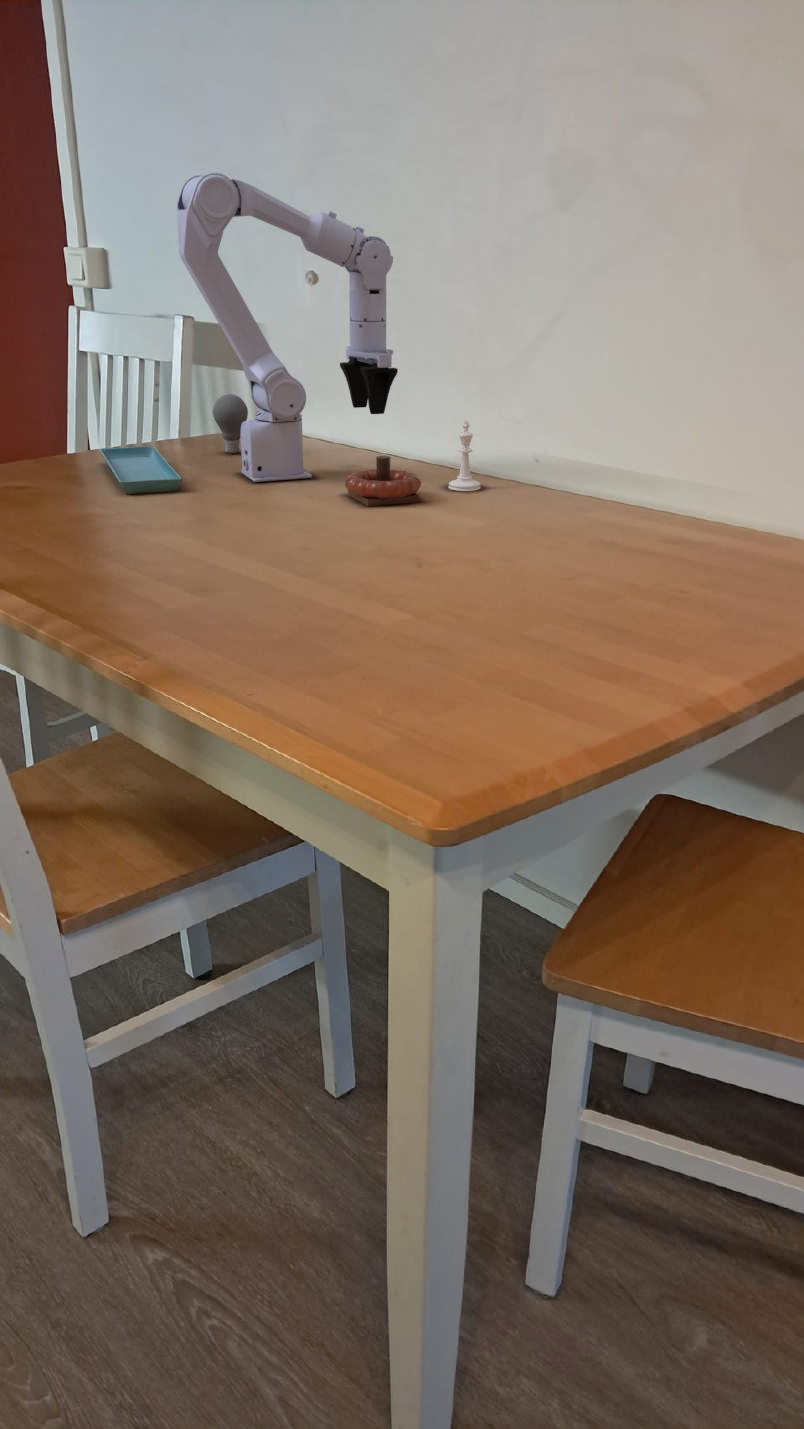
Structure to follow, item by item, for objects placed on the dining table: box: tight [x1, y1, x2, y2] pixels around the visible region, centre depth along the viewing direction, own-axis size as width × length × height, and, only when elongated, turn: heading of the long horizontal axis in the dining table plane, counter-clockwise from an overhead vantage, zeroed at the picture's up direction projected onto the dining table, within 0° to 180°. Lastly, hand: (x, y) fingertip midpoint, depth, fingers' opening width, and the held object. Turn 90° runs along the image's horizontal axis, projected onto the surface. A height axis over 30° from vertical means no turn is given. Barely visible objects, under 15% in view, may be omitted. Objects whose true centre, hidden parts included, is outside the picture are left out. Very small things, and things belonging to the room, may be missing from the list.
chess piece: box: [448, 419, 482, 492], centre depth 160 cm, size 5×5×10 cm
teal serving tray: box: [99, 445, 183, 495], centre depth 167 cm, size 26×9×2 cm, turn 21°
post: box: [347, 455, 420, 507], centre depth 154 cm, size 8×8×6 cm
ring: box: [344, 468, 422, 498], centre depth 154 cm, size 11×11×2 cm
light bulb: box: [212, 393, 249, 455], centre depth 185 cm, size 6×6×10 cm
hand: (368, 410), depth 171 cm, fingers open, 7 cm apart
